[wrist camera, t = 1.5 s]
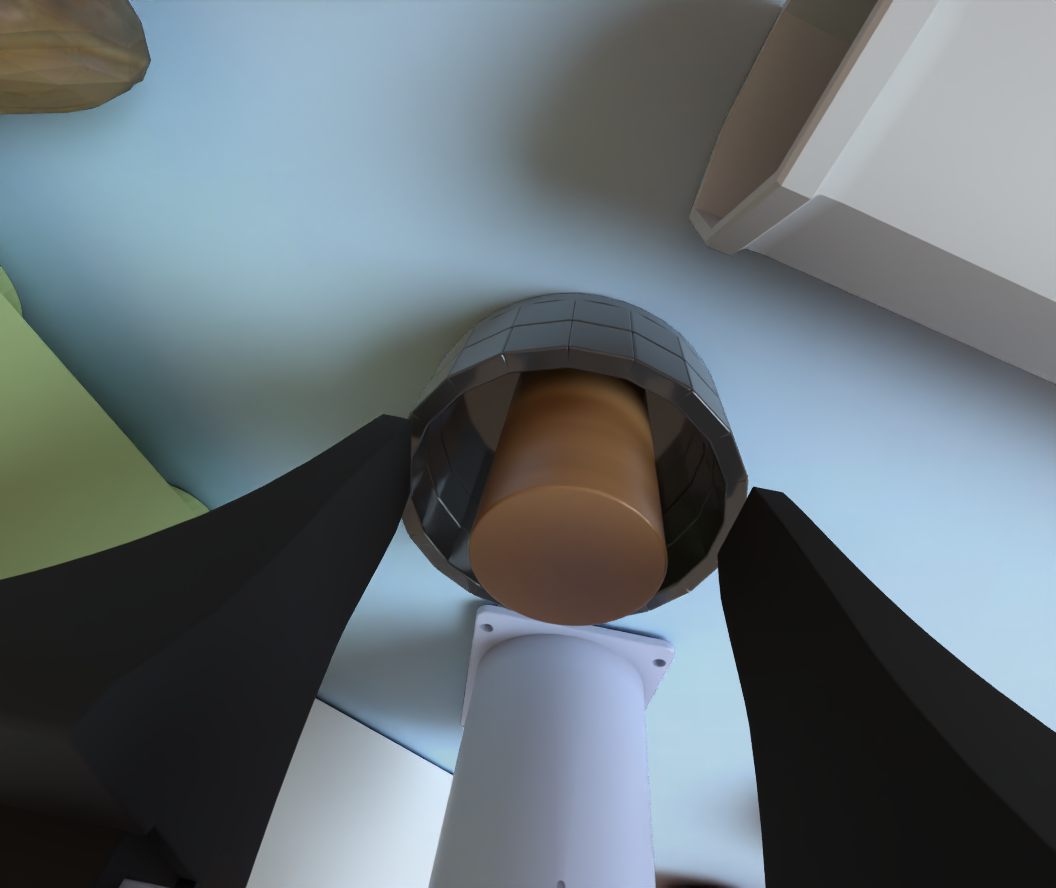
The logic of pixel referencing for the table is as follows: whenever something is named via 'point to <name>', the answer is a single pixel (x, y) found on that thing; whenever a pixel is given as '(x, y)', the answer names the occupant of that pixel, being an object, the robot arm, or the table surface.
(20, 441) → the container
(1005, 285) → the tube
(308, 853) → the milk
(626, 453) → the cork
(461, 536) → the dark round bowl
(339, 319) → the table surface
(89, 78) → the fish
